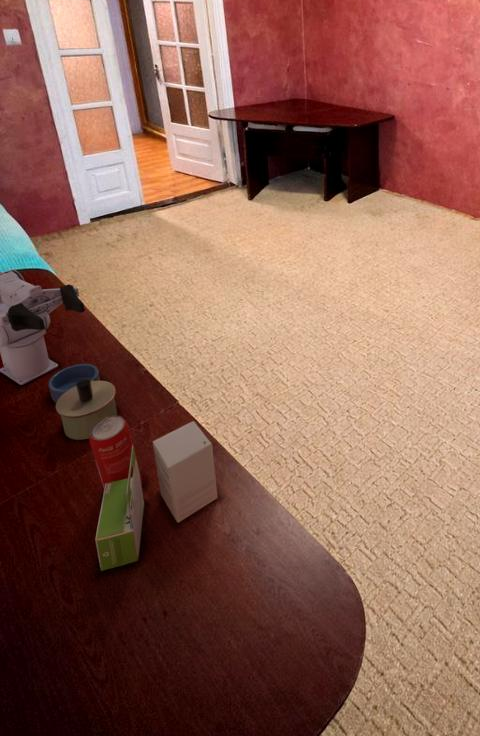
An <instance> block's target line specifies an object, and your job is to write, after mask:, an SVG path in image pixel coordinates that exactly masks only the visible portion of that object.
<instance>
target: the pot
mask: <svg viewBox="0 0 480 736" xmlns="http://www.w3.org/2000/svg"><path fill="white" fill-rule="evenodd" d="M117 410H118V409H117V406H116V401H115V397H114V398H113V400H112V401H111V402H110V403H109V404H108V405H107V406H106V407H104V408H103V409H101V410H100V411H98V412H96V413H93V414H91V415H88V416H84V417H79V418H67V417H63V416H61V415H60V419H61V422H62V423H61V424H62V426H63V427H62V428H63V432H64V434H65V436H66V437H68V438H69V439H72V440H78V441H79V440H81V441H83V440H89V437H90V431H91V429H92V427H93V426H94V425H95V424H96V423H97V422H98V421H100V420H101V419H103V418H106V417H109V416H118V411H117Z"/></svg>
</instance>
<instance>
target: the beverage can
mask: <svg viewBox="0 0 480 736" xmlns="http://www.w3.org/2000/svg"><path fill="white" fill-rule="evenodd" d="M88 441H89V444H90V448H91V451H92V454H93V458H94V461H95V464H96V467H97V471H98V475H99V477H100V479H101V483H102V486H103V490H104V489H105V484H106V483H110V482H115V481H119V480H123V479H128V476H129V468H130V461H131V453H132V445H133V447H134V452H135V456H136V461H137V465H138V470H139V475H140V481H141V485H142V484H143V477H142V473H141V469H140V464H139V461H138V457H137V453H136V449H135V445H134V441H133V438H132V434H131V429H130V426H129V423H128V422H127V421H126V420H125V419H124V417H123V416H120V415H117V416H109V417H106V418H103V419H101V420H100V421H98V422H97V423H96V424H95V425H94V426H93V427H92V429H91V431H90V437H89V438H88ZM132 477H133V465H132V469H131V477H130V478H132Z"/></svg>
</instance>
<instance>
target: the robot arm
mask: <svg viewBox="0 0 480 736" xmlns="http://www.w3.org/2000/svg"><path fill="white" fill-rule="evenodd" d="M79 297H80V293H79V288H78V287H77V286H74V285H72V284H65V285H63V286H60V287H59V288H46V289H43V288H42V286H40V285H34V284H31V283H29V282H27V281H25V279H24V276H23V275H22V274H21V273H20V272H19V270H18V271H17V270H16V269H11V270H9V271H8V272H4V271H1V270H0V357H1V360H2V364H3V367H1V368H0V373H2V374H3V375H5V376H6V377H8V378H9V379H10V380H12V381H14V382H15V383H17V384H18V385H20V386H23V385H25V384H27V383H30V382H32V381H33V380H35V379H38V378H39V377H40V376H44V375H45V374H47V373H49V372H52V371H53V370H55V369H57V368H58V367H59V364H58V363H57V362H55V361H53V360H51V359H50V357H49V353H48V350H47V346H46V345H47V344H46V341H45V338H44V337H45V336H44V335H46V334H47V331H46V329H48V328H50V324H51V318H50V313H52V312H53V311H54V310H56V309H57V308H58V307H60V306H61V305H62V304H63V306H64V310H65V312H67V311H74V312H77V313H80V314H82V313H84V312H85V311H86V308H85V305H84V302H82V300H81V299H80V298H79Z"/></svg>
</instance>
